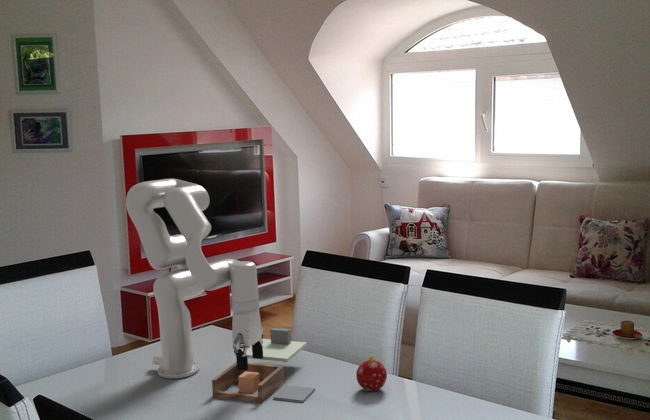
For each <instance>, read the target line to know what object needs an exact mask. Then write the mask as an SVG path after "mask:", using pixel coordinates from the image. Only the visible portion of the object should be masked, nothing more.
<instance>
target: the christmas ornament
mask: <svg viewBox="0 0 650 420" xmlns="http://www.w3.org/2000/svg"><path fill="white" fill-rule="evenodd" d="M355 377H356V381H357V383H358V385H359V386H360V387H361V388H362V389H363V390H364V391H369V392H376V391H378V390H380V389H381V388H382V387H384V385H385V384H386V381H387V380H388V379H387V377H388V374H387V369H386V368H385V366H384V365H383V364H382V363H381V362H380V361H378V360H375V359H374V356H373V355H369V357H368V360H364V361H363V362H362V363H360V364H359V366H358V367H357V370H356V376H355Z"/></svg>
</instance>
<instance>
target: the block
mask: <svg viewBox="0 0 650 420" xmlns="http://www.w3.org/2000/svg"><path fill="white" fill-rule="evenodd" d="M259 383H261V381H260V375H259V373H256V372H246V371H245V372H244V373H243V374H241V375H240V376H239V377H238V393H245V394H254V393H256V392H258V384H259Z"/></svg>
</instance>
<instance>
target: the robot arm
mask: <svg viewBox="0 0 650 420" xmlns="http://www.w3.org/2000/svg"><path fill="white" fill-rule="evenodd" d="M125 202H126V203H125V204H126V205H125V206H126V209H127V213H128V216H129V217H130V219H131V221H132V223H133V225H134V227H135V229H136V231H137V234H138V236H139V239H140V242H141V245H142V248H143V250H144V253H145V256H146V260H147V261H148V263H149V266H150V267H151V268H152V269H154V270H157V271H158V270H159V271H160V270H166V269H169V268H173V267H177V269H175V270H172V271H168V272H165V273H163V274H160V275H159V276H158V277H157V278H155V281H154V283H153V295H154V298H155V302H156V306H157V313H158V322H159V323H158V324H159V325H158V326H159V337H160V338H159V339H160V350H161V351H160V352H161V355H154V356H153V357H152V362H151V363H152V365H158V366H159V368H157V375H158V376H159V377H161V378H163V379H172V380H173V379H175V380H176V379H183V378H188V377H190V376H193V375H195V374H197V373H198V372H199V370H200V366H199V364H198V363H196V362H194V355H193V354H194V351H193V350H194V349H193V337H192V334H193V333H192V317H191V313H190V310H189V309H188V307H187V305H186V303H185V301H186V300H189V299H192V298H195V297H197V296H199V295H202V294H203V293H204V292H205V291H209V292H210V291H215V290H219V289H221V288H225V287H228V286H230V291H231V303H232V305H231V306H232V312H233V314H232V327H231V329H232V335H231V336H232V350H233V352H234V356H235V359H236V362H237V369H238V370H248V362H249V358H247V356H246V353H247V350H248V349H249V348H250V347H252V355H253V358H256V359H255V360H262V358H263V347H262V344H263V341H262V339H264V334H263V333H264V326H262V322H261V315H260V314H261V313H260V299H259V298H260V297H259V284H258V270H257V265H256V263H254V262H253V261H251V260H250V261H249V260H247V261H244V260H243V261H240V260H238V259H236V258H225V259H221V260H217V261H214V262H211V263H210V262H208V260H207V258H206V257H205V255H204V253H203V250H202V241H203V240H204V239H205V238H206V237H208V235H209V234H210V232H211V231H212V225H211V223H210V221H209V220H208V219H207V217H206V216H205V214H204V212H203V211H205V210H207V208H208V207H209V205H210V196H209V193H208V191H207V190H206V189H205V188H204V187H203V186H202V185H199V184H197V183H193V182H189V181H186V180H181V179H179V178H163V179H156V180H148V181H142V182H139V183H137V184H135V185H133V186H131V187H130V189H129V190H128V192H127V195H126V201H125ZM160 208H165V209H166V210H167V212H168V214H169V216H170V217H171V219H172V220H173V223H174V224H175V226H176V227H177V229H178V230H179V232H180V234H175V235H170V234H169V231H168V229H167V225H166V223H165V221H164V220H163V219H162V217H161V216H160V215H159V214H158V213H157V212H155V211H154V210H155V209H160ZM242 349H243V350H242Z"/></svg>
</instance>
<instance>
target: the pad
mask: <svg viewBox="0 0 650 420" xmlns="http://www.w3.org/2000/svg"><path fill="white" fill-rule="evenodd" d="M315 391H316V387H310V386H309V387H307V386H298V385H290V384H286V385H284V386H283V387H282V388H280V390H279V391H278V392H276V393H275V395H273V397H272V398H273V399H272V400H279V401H288V402H295V403H296V402H297V403H305V402H306V400H307V399H308V398H309V397H311V395H312V394H313V393H314V392H315Z"/></svg>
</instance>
